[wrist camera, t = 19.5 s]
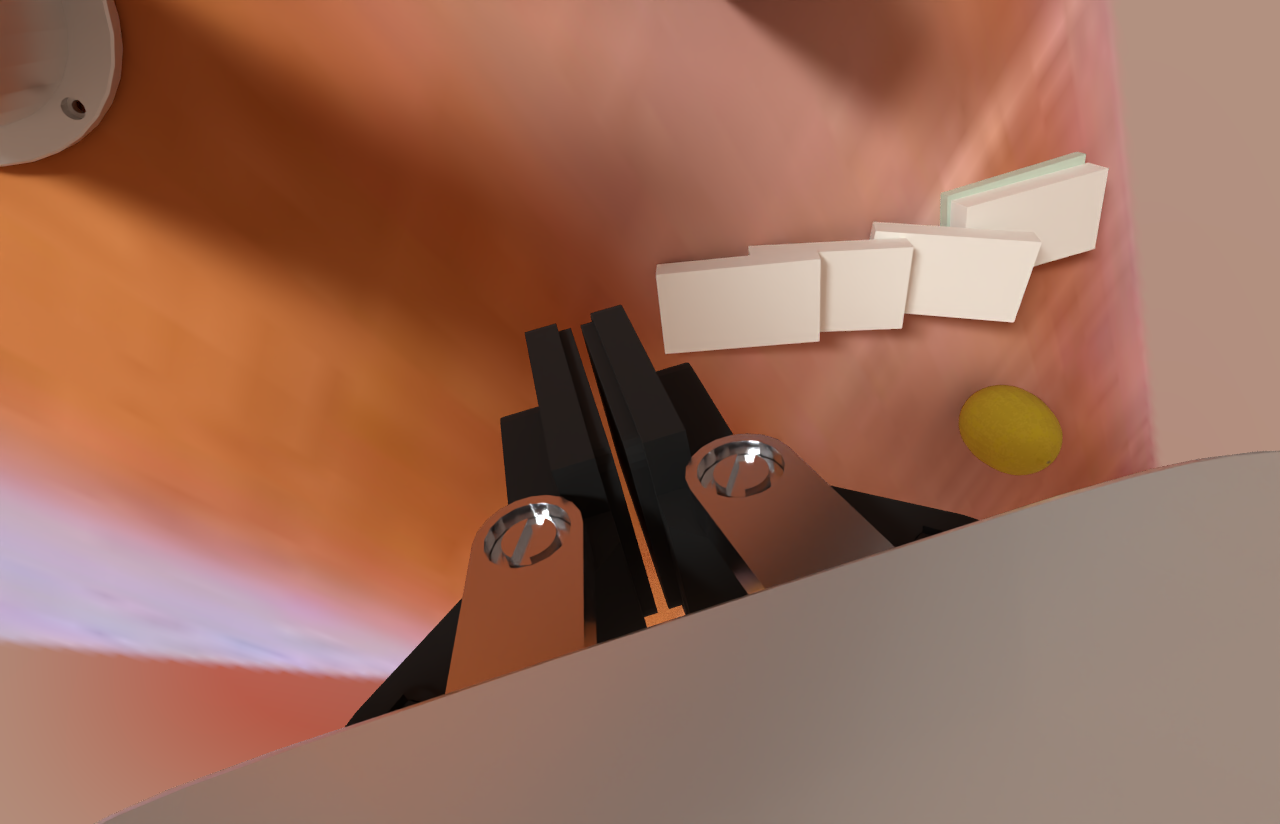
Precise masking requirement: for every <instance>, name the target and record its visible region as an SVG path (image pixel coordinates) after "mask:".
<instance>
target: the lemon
mask: <svg viewBox="0 0 1280 824" xmlns="http://www.w3.org/2000/svg"><path fill="white" fill-rule="evenodd" d="M959 430H960V434H961V437H962V439H963V441H964V443H965V444H966V445H967V447H968V448H969V450H970V451H971V452H972V453H973V454H974V455H975V456H976V457H977V458H978V459H979V460H981V461H982V462H984V463H985V464H987V465H989V466H990V467H992V468H994V469H996V470H998V471H1000V472H1003V473H1007V474H1011V475H1028V474H1032V473H1036V472H1039V471H1041V470H1043V469H1044V468H1046V467H1047V466H1049V465H1050V464H1051V463H1052V462H1053V461H1054V460H1055V459H1056V457H1057V455H1058V454H1059V452H1060V449H1061V445H1062V430H1061V427H1060V424H1059V422H1058V420H1057V418H1056V416H1055V415H1054V414H1053V412H1052V411H1051V410H1050V409H1049V408H1048V407H1047V406H1046V404H1045V403H1044V402H1042V401H1041V400H1040V399H1039V398H1038V397H1036V396H1035V395H1033V394H1031V393H1029V392H1027V391H1025V390H1023V389H1021V388H1018V387H1014V386H1008V385H995V386H989V387H986V388H983V389H981V390H979V391H977V392H976V393H974V394H973V395H972V396H971V397H969V399H968V400H967V401H966V402H965V404H964V405H963V407H962V409H961V412H960V415H959Z"/></svg>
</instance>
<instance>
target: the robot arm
mask: <svg viewBox="0 0 1280 824" xmlns="http://www.w3.org/2000/svg"><path fill="white" fill-rule="evenodd" d="M122 57H123V44H122V36H121V28H120V20H119V15H118V12H117V9H116V6H115V3H114V0H0V166H9V165H16V164H23V163H29V162H34V161H37V160H40V159H43V158H46V157H48V156H51V155H54V154H56V153H58V152H60V151H62V150H64V149H66V148H68V147H70V146H72V145H74V144H76V143H78V142H80V141H81V140H82V139H83V138H84V137H85V136H86V135H88V134H89V133H90V132H91V131H92V130H93V129H94V128H95V127H97V126H98V125H99V123H100V122H101V120H102V119H103V117H104V115H105V114H106V112H107V111H108V109H109V108H110V106H111V105H112V103H113V100H114V97H115V94H116V91H117V88H118V85H119V82H120V79H121V69H122ZM77 100H79V101H80V102H81V103H82V104H83V105H84V107H85V110H86V112H84V111H81V110H80V109H79V108H78V107H77V104H76V103H77ZM590 315H591V320H592V322H590V323H587V324H583V325H581V329H582V333H583V336H584V340H585V343H586V347H587V351H588V354H589V358H590V361H591V365H592V368H593V372H594V375H595V379H596V382H597V386H598V389H599V393H600V396H601V400H602V403H603V407H604V411H605V414H606V418H607V421H608V425H609V428H610V432H611V435H612V439H613V442H614V446H615V449H616V453H617V456H618V459H619V463H620V466H621V469H622V472H623V475H624V478H625V481H626V484H627V487H628V490H629V493H630V496H631V499H632V502H633V505H634V508H635V511H636V514H637V516H638V519H639V522H640V525H641V528H642V531H643V534H644V537H645V540H646V543H647V546H648V549H649V552H650V555H651V558H652V561H653V564H654V567H655V570H656V573H657V576H658V579H659V582H660V585H661V587H662V590H663V593H664V596H665V599H666V602H667V605H668V608H669V609H671V608H674V607H677V606H680V605H682V607H683V609H684V612H685V615H684V616H681V617H678V618H675V619H672V620H669V621H666V622H663V623H660V624H657V625H654V626H651V627H648V628H647V626H646V622H645V619H644V617H646V616H649V615H652V614H655V613H658V612H657V608H656V605H655V601H654V598H653V594H652V591H651V587H650V584H649V580H648V577H647V573H646V570H645V566H644V563H643V560H642V556H641V553H640V549H639V546H638V542H637V539H636V535H635V532H634V528H633V525H632V521H631V518H630V514H629V511H628V508H627V504H626V501H625V497H624V494H623V490H622V487H621V483H620V480H619V476H618V473H617V469H616V466H615V463H614V459H613V456H612V453H611V450H610V446H609V443H608V440H607V437H606V434H605V431H604V428H603V425H602V422H601V419H600V416H599V413H598V410H597V407H596V404H595V401H594V398H593V395H592V392H591V388H590V385H589V382H588V379H587V376H586V373H585V370H584V367H583V364H582V361H581V358H580V355H579V352H578V349H577V346H576V343H575V340H574V337H573V334H572V331H571V328H569V329H566V330H562V331H559V332H558V329H557V325H556V324H552V325H549V326H545V327H542V328H538V329H535V330H531V331H528V332H525V337H526V342H527V347H528V353H529V358H530V363H531V368H532V373H533V379H534V384H535V389H536V394H537V400H538V405H539V407H535V408H532V409H529V410H525V411H522V412H519V413H515V414H512V415H508V416H505V417H502V418H501V419H500V424H501V434H502V445H503V455H504V465H505V476H506V486H507V497H508V505H507V506H505V507H503V508H502V509H500V510H498V511H497V512H496V513H495V514H493V515H492V516H491V517H490V518H488V519H487V520H486V521H485V523H484V524H483V525H482V526H481V528H480V529H479V530H478V532H477V533H476V536H475V539H474V541H473V544H472V548H471V554H470V559H469V565H468V570H467V576H466V581H465V587H464V592H463V598H462V599H461V600H460V601H459V602H458V603H457V604H456V605H455V606H454V607H453V608H452V610H451V611H450V612H449V613H448V614H447V615H446V616H445V617H444V618H443V619H442V620H441V621H440V622H439V624H438V625H437V626H436V627H435V628H434V629H433V630H432V631H431V632H430V633H429V634H428V635H427V636H426V637H425V639H424V640H423V641H422V642H421V643H420V644H419V645H418V646H417V647H416V648H415V649H414V650H413V651H412V653H411V654H410V655H409V656H408V657H407V658H406V659H405V660H404V661H403V662H402V663H401V664H400V665H399V667H398V668H397V669H396V670H395V671H394V672H393V673H392V674H391V675H390V676H389V677H388V678H387V679H386V681H385V682H384V683H383V684H382V685H381V686H380V687H379V688H378V689H377V690H376V691H375V692H374V694H372V696H371V697H370V698H369V699H368V700H367V701H366V702H365V703H364V704H363V705H362V706H361V707H360V709H359V710H358V711H357V712H356V713H355V714H354V716H353V717H352V718H351V720H350V721H349V722H348V724H347V725H346V726H345V727H344V728H341V729H338V730H335V731H333V732H329V733H326V734H323V735H320V736H317V737H314V738H311V739H308V740H305V741H302V742H299V743H296V744H293V745H290V746H287V747H284V748H281V749H278V750H275V751H273V752H270V753H267V754H264V755H262V756H259V757H256V758H253V759H251V760H248V761H245V762H242V763H240V764H237V765H234V766H231V767H229V768H226V769H223V770H220V771H218V772H215V773H212V774H209V775H207V776H204V777H201V778H198V779H196V780H193V781H191V782H187V783H185V784H182V785H179V786H176V787H174V788H171V789H168V790H166V791H164V792H162V793H159V794H157V795H155V796H152V797H150V798H148V799H145V800H143V801H141V802H139V803H136V804H134V805H132V806H130V807H127V808H125V809H123V810H120V811H118V812H116V813H114V814H111V815H109V816H108V817H106V818H104V819H102V820H100V821H98V822H96V823H94V824H1280V451H1260V452H1250V453H1242V454H1235V455H1227V456H1218V457H1210V458H1202V459H1196V460H1191V461H1186V462H1182V463H1177V464H1172V465H1167V466H1162V467H1158V468H1153V469H1149V470H1145V471H1142V472H1138V473H1135V474H1131V475H1128V476H1124V477H1121V478H1117V479H1114V480H1110V481H1107V482H1103V483H1100V484H1096V485H1093V486H1089V487H1085V488H1082V489H1078V490H1075V491H1071V492H1068V493H1064V494H1061V495H1057V496H1054V497H1051V498H1048V499H1045V500H1042V501H1039V502H1036V503H1032V504H1029V505H1026V506H1023V507H1020V508H1017V509H1014V510H1011V511H1007V512H1004V513H1001V514H998V515H995V516H992V517H989V518H986V519H982V520H977V519H974V518H971V517H968V516H965V515H961V514H957V513H952V512H948V511H943V510H939V509H934V508H929V507H925V506H920V505H916V504H911V503H907V502H902V501H898V500H893V499H889V498H884V497H879V496H875V495H870V494H866V493H861V492H857V491H852V490H848V489H843V488H839V487H834V486H830V485H829V484H828V483H827V482H826V481H824V480H823V479H822V478H821V477H820V476H819V475H818V474H817V473H816V472H815V471H814V470H813V469H812V468H811V467H810V466H809V465H808V464H807V463H805V462H804V461H803V460H802V459H801V458H800V457H799V456H798V455H797V454H796V453H795V452H794V451H793V450H792V449H791V448H790V447H788V446H787V445H785V444H784V443H782V442H781V441H779V440H778V439H775V438H772V437H769V436H765V435H759V434H748V433H747V434H737V435H733V434H732V432H731V430H730V429H729V427H728V425H727V424H726V422H725V421H724V419H723V417H722V416H721V414H720V412H719V411H718V409H717V408H716V406H715V404H714V403H713V401H712V399H711V398H710V396H709V394H708V393H707V391H706V390H705V388H704V386H703V385H702V383H701V381H700V380H699V378H698V377H697V375H696V373H695V372H694V370H693V368H692V367H691V365H690V364H689V363H683V364H680V365H677V366H673V367H670V368H666V369H663V370H660V371H655V369H654V367H653V365H652V363H651V361H650V359H649V357H648V355H647V353H646V352H645V350H644V348H643V346H642V344H641V342H640V340H639V338H638V336H637V334H636V332H635V330H634V328H633V326H632V324H631V322H630V320H629V318H628V316H627V314H626V312H625V311H624V309H623V307H622V305H618V306H615V307H611V308H608V309H604V310H601V311H597V312H594V313H591V314H590Z"/></svg>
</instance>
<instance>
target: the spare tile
mask: <svg viewBox="0 0 1280 824" xmlns="http://www.w3.org/2000/svg"><path fill="white" fill-rule="evenodd" d="M1085 158H1086V154H1084V153H1080V152H1074V153H1071V154H1068V155H1064V156H1061V157H1058V158H1055V159H1051V160H1048V161H1045V162H1041V163H1038V164H1035V165H1032V166H1028V167H1025V168H1022V169H1018V170H1015V171H1012V172H1009V173H1005V174H1002V175H999V176H995V177H992V178H989V179H985V180H982V181H979V182H976V183H972V184H969V185H966V186H962V187H959V188H956V189H953V190H949V191H946V192H943V193H941V203H940V226H946V227H950V210H951V200H955V199H958V198H962V197H965V196H969V195H973V194H976V193H980V192H984V191H987V190H991V189H994V188H998V187H1002V186H1005V185H1009V184H1013V183H1016V182H1020V181H1023V180H1027V179H1031V178H1034V177H1038V176H1042V175H1045V174H1049V173H1053V172H1056V171H1060V170H1063V169H1067V168H1071V167H1074V166H1078V165H1082V164H1085Z"/></svg>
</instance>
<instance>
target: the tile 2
mask: <svg viewBox="0 0 1280 824" xmlns="http://www.w3.org/2000/svg"><path fill="white" fill-rule="evenodd" d="M913 248H914V247H913V246H912V245H911V243H910V242H909V241H908V240H907V238H891V239H872V240H853V241H833V242H814V243H795V244H775V245H756V246H748V255H759V254H769V253H779V252H789V251H800V250H810V249H817V252H818V254H819V256H820V259H821V274H820V332H830V331H855V330H879V329H902V325H903V318H904V311H905V304H906V297H907V290H908V283H909V276H910V269H911V262H912V255H913Z"/></svg>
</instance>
